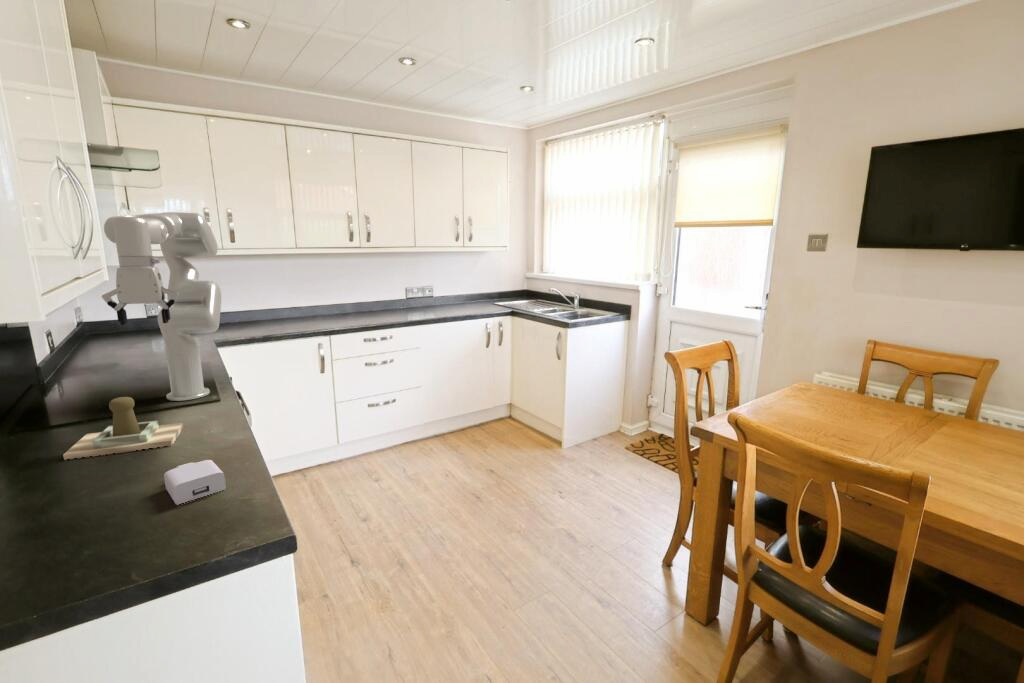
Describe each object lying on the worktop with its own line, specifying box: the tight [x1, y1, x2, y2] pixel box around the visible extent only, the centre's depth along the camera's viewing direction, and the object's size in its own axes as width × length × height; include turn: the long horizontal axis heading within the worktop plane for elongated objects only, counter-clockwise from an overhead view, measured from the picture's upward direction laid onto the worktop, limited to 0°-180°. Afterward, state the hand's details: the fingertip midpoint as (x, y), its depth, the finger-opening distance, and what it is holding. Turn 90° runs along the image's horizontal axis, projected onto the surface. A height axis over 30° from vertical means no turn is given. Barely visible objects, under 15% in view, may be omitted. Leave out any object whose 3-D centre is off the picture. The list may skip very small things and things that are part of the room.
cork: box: [108, 396, 141, 437], centre depth 124 cm, size 6×6×11 cm
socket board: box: [62, 420, 185, 461], centre depth 125 cm, size 14×22×4 cm, turn 114°
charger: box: [163, 459, 227, 506], centre depth 103 cm, size 5×9×15 cm
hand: (145, 323), depth 132 cm, fingers open, 9 cm apart
